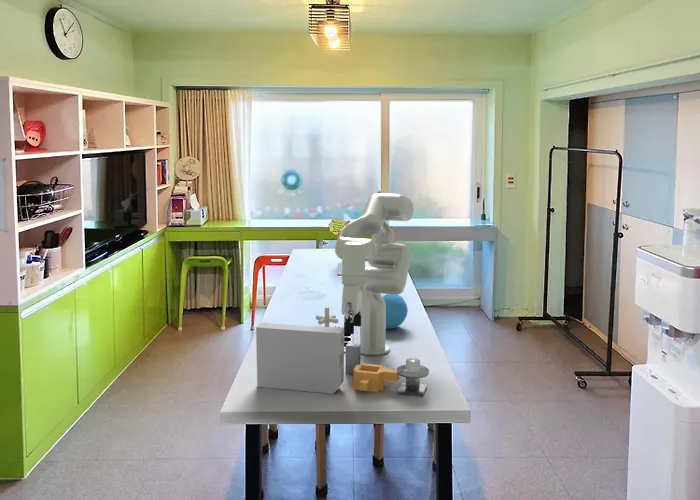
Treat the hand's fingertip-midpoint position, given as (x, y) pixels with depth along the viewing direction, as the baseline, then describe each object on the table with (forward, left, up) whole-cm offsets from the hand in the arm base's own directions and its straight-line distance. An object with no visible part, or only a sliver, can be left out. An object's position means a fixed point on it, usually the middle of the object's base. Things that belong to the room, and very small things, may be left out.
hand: (352, 329), depth 231 cm
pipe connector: (-44, -22, -16) cm, 51 cm away
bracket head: (+11, +10, -15) cm, 22 cm away
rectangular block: (-1, 0, -15) cm, 15 cm away
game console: (+16, -13, -16) cm, 26 cm away
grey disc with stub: (+9, +22, -15) cm, 28 cm away
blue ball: (-56, 0, -16) cm, 58 cm away
